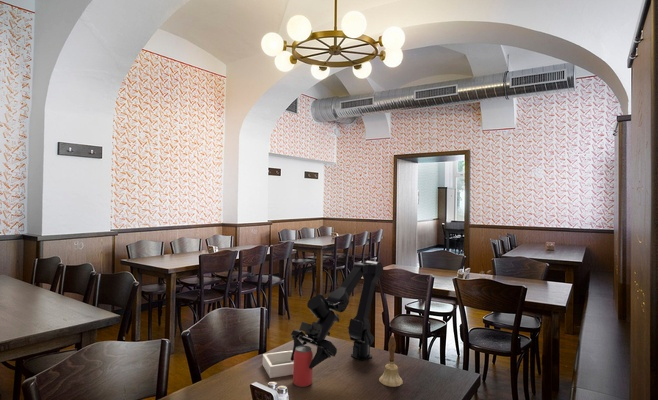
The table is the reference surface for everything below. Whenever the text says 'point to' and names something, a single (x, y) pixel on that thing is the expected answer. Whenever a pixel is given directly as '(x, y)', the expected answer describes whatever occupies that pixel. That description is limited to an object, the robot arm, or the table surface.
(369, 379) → the table surface
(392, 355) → the hand bell
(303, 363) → the beer can
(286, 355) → the box
